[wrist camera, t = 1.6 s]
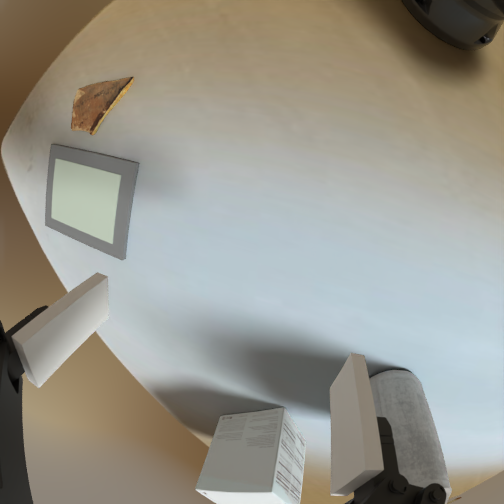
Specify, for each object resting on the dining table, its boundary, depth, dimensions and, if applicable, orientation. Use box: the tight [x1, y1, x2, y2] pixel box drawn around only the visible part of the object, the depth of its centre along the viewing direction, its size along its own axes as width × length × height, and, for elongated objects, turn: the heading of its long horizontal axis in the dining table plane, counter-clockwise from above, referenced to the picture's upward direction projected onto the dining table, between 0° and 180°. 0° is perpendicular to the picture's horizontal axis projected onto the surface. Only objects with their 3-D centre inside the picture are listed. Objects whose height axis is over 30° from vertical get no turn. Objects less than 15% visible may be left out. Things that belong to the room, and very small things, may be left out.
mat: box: [45, 144, 139, 260], centre depth 36 cm, size 14×18×1 cm
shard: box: [71, 77, 134, 135], centre depth 31 cm, size 11×8×2 cm
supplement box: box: [195, 407, 306, 504], centre depth 39 cm, size 13×13×18 cm
